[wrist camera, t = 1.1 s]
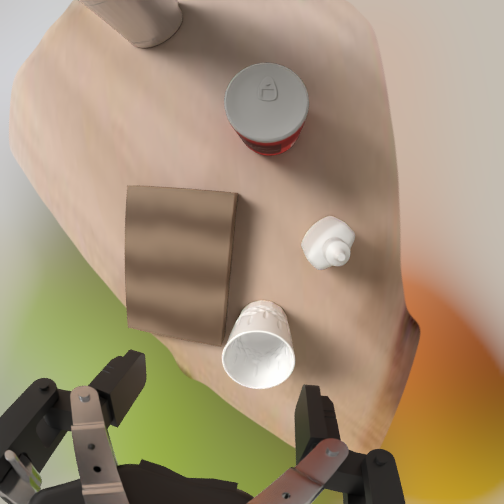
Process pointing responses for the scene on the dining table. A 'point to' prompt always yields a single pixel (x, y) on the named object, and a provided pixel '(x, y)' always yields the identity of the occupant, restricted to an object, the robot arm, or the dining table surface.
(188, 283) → the walnut base board
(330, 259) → the eye dropper bottle
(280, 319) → the white cup
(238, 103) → the canned food
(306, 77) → the dining table surface
